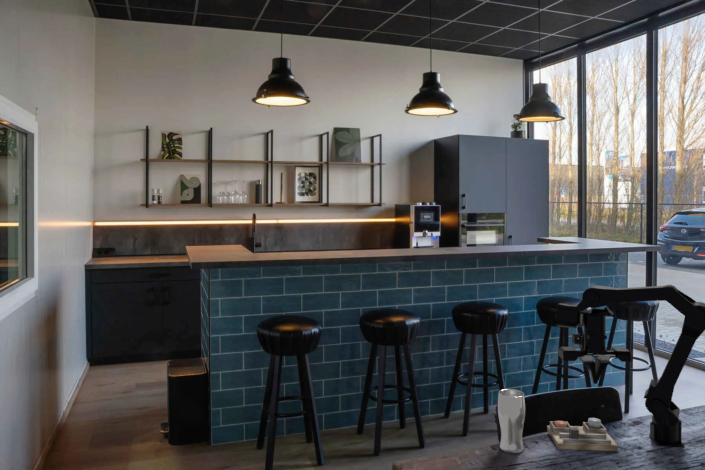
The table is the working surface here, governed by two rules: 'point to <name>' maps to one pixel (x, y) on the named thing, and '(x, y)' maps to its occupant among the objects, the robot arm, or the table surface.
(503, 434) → the beer glass
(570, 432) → the block
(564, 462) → the table surface
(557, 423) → the terracotta button
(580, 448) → the control panel
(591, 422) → the grey button
